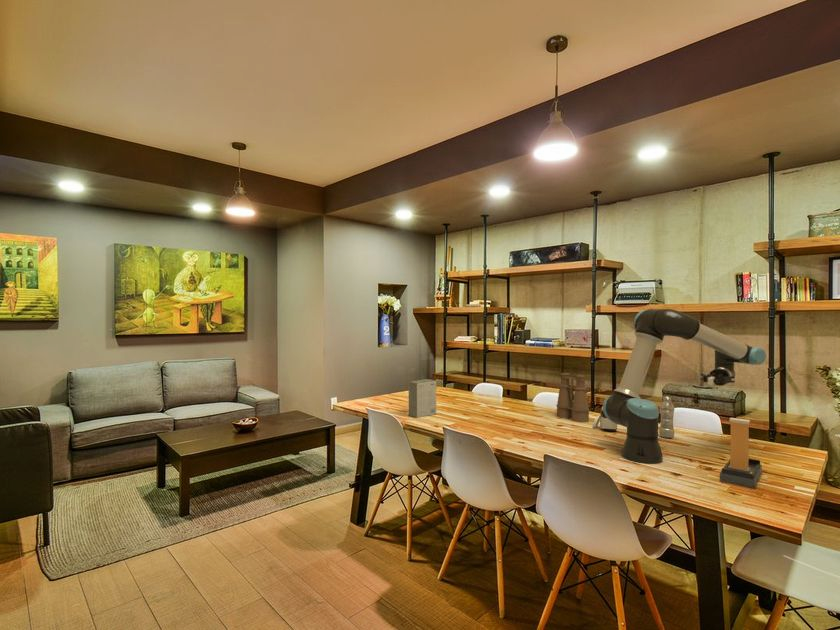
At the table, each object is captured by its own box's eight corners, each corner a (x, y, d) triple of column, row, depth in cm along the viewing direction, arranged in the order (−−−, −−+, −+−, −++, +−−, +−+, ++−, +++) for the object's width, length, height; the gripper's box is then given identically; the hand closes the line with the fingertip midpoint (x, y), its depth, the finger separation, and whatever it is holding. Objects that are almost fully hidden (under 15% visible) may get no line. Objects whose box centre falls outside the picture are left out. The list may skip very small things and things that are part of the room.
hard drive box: (428, 412, 272) (428, 378, 272) (436, 414, 266) (437, 380, 266) (407, 415, 262) (408, 381, 262) (416, 418, 256) (416, 382, 256)
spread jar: (619, 433, 228) (619, 409, 228) (595, 431, 230) (595, 408, 230) (613, 427, 240) (613, 405, 240) (590, 426, 242) (590, 404, 242)
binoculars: (552, 416, 266) (552, 373, 266) (564, 414, 271) (564, 372, 271) (581, 423, 248) (582, 377, 248) (593, 421, 253) (594, 376, 253)
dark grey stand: (754, 488, 155) (754, 475, 155) (719, 481, 161) (719, 468, 161) (761, 472, 171) (761, 460, 171) (729, 466, 178) (730, 454, 178)
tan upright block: (748, 475, 158) (749, 422, 158) (727, 471, 162) (728, 419, 162) (750, 471, 162) (750, 419, 162) (730, 468, 166) (730, 417, 166)
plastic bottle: (657, 437, 220) (657, 396, 220) (661, 435, 225) (662, 394, 225) (671, 440, 216) (672, 398, 216) (676, 437, 220) (676, 396, 220)
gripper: (737, 386, 199) (728, 392, 182) (703, 383, 208) (691, 388, 190) (738, 369, 199) (729, 373, 182) (703, 366, 208) (691, 371, 190)
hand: (709, 381), depth 186 cm, fingers closed
